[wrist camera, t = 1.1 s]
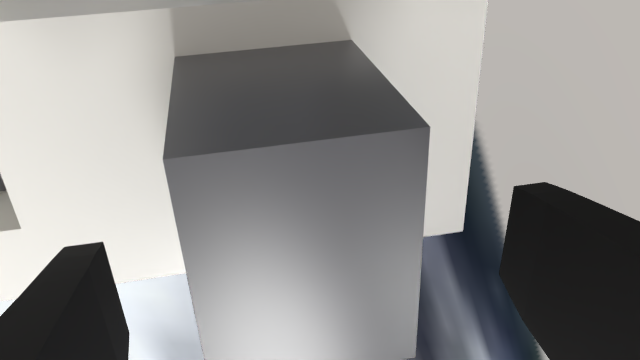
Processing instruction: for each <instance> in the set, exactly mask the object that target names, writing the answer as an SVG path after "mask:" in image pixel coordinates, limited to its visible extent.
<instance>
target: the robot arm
mask: <svg viewBox="0 0 640 360" xmlns="http://www.w3.org/2000/svg"><path fill="white" fill-rule="evenodd" d="M499 275H500V277H501V279H502V281H503V283H504V285H505V287H506V289H507V291H508V293H509V295H510V297H511V299H512V301H513V303H514V305H515V307H516V309H517V311H518V312H519V314H520V316H521V318H522V320H523V321H524V323H525V324H526V326H527V327H528V329H529V330H530V332H531V333H532V335H533V336H534V338H535V339H536V341H537V342H538V343H539V345H540V346H541V348H542V349H543V351H544V352H545V354H546V355H547V356H548V358H549V359H550V360H640V221H637V220H635V219H633V218H631V217H628V216H626V215H624V214H622V213H619V212H617V211H615V210H613V209H610V208H608V207H606V206H603V205H601V204H599V203H596V202H594V201H592V200H590V199H587V198H585V197H583V196H580V195H578V194H576V193H573V192H571V191H568V190H566V189H563V188H560V187H558V186H555V185H552V184H549V183H546V182H542V183H535V184H527V185H520V186H514V190H513V195H512V201H511V207H510V213H509V218H508V224H507V230H506V236H505V242H504V248H503V254H502V260H501V265H500V271H499ZM128 351H129V330H128V327H127V323H126V320H125V316H124V313H123V309H122V306H121V302H120V299H119V295H118V292H117V288H116V285H115V281H114V278H113V274H112V271H111V267H110V264H109V260H108V257H107V253H106V250H105V246H104V243H103V242H96V243H89V244H82V245H74V246H67V247H63V249H62V250H61V251H60V252H59V253H58V254H57V255H56V256H55V257H54V258H53V259H52V260H51V261H50V262H49V263H48V265H47V266H46V267H45V268H44V269H43V270H42V271H41V272H40V273H39V275H38V276H37V277H36V278H35V279H34V280H33V281H32V282H31V284H30V285H29V286H28V287H27V288H26V289H25V290H24V291H23V292H22V294H21V295H20V296H19V297H18V298H17V299H16V300H15V301H14V302H13V303H12V305H11V306H10V307H9V308H8V309H7V310H6V311H5V312H4V313H3V314H2V315H1V316H0V360H128Z"/></svg>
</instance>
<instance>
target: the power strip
mask: <svg viewBox="0 0 640 360" xmlns="http://www.w3.org/2000/svg"><path fill="white" fill-rule="evenodd" d="M487 8H488V0H0V301H7V300H13V299H17V298H18V297H19V296H20V295H21V294H22V292H23V291H24V290H25V289H26V288H27V287H28V286H29V285H30V284H31V282H32V281H33V280H34V279H35V278H36V277H37V276H38V275H39V273H40V272H41V271H42V270H43V269H44V268H45V267H46V266H47V265H48V263H49V262H50V261H51V260H52V259H53V258H54V257H55V256H56V255H57V254H58V253H59V252H60V251H61V250H62V249H63V247H67V246H74V245H82V244H89V243H96V242H103V243H104V246H105V250H106V253H107V257H108V260H109V264H110V267H111V271H112V274H113V278H114V281H115V284H119V283H125V282H132V281H138V280H145V279H152V278H158V277H165V276H171V275H178V274H185V273H186V270H185V265H184V260H183V255H182V251H181V246H180V241H179V236H178V231H177V226H176V222H175V217H174V212H173V207H172V202H171V198H170V193H169V188H168V183H167V178H166V174H165V169H164V164H163V152H164V143H165V135H166V126H167V118H168V109H169V101H170V92H171V84H172V75H173V67H174V58H175V57H177V56H187V55H198V54H208V53H219V52H229V51H240V50H250V49H260V48H271V47H281V46H292V45H302V44H313V43H323V42H333V41H344V40H352V41H353V42H354V43H355V44H356V45H357V46H358V47H359V48H360V50H361V51H362V52H363V53H364V54H365V55H366V56H367V57H368V58H369V59H370V61H371V62H372V63H373V64H374V65H375V66H376V67H377V68H378V69H379V71H380V72H381V73H382V74H383V75H384V76H385V77H386V78H387V79H388V80H389V82H390V83H391V84H392V85H393V86H394V87H395V88H396V89H397V90H398V92H399V93H400V94H401V95H402V96H403V97H404V98H405V99H406V100H407V101H408V103H409V104H410V105H411V106H412V107H413V108H414V109H415V110H416V111H417V113H418V114H419V115H420V116H421V117H422V118H423V119H424V120H425V121H426V122H427V124H428V125H429V126H430V140H429V156H428V171H427V187H426V202H425V217H424V233H423V237H428V236H435V235H441V234H448V233H454V232H461V231H463V225H464V216H465V207H466V198H467V189H468V180H469V171H470V162H471V153H472V144H473V135H474V126H475V117H476V108H477V98H478V89H479V79H480V71H481V62H482V53H483V44H484V34H485V26H486V16H487Z"/></svg>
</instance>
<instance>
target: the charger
mask: <svg viewBox="0 0 640 360" xmlns="http://www.w3.org/2000/svg"><path fill="white" fill-rule="evenodd" d="M429 140H430V126H429V125H428V124H427V122H426V121H425V120H424V119H423V118H422V117H421V116H420V115H419V114H418V113H417V111H416V110H415V109H414V108H413V107H412V106H411V105H410V104H409V103H408V101H407V100H406V99H405V98H404V97H403V96H402V95H401V94H400V93H399V92H398V90H397V89H396V88H395V87H394V86H393V85H392V84H391V83H390V82H389V80H388V79H387V78H386V77H385V76H384V75H383V74H382V73H381V72H380V71H379V69H378V68H377V67H376V66H375V65H374V64H373V63H372V62H371V61H370V59H369V58H368V57H367V56H366V55H365V54H364V53H363V52H362V51H361V50H360V48H359V47H358V46H357V45H356V44H355V43H354V42H353V41H352V40H344V41H333V42H323V43H313V44H302V45H292V46H281V47H271V48H260V49H250V50H240V51H229V52H219V53H208V54H198V55H187V56H177V57H175V58H174V67H173V75H172V84H171V92H170V101H169V109H168V118H167V126H166V135H165V143H164V152H163V164H164V169H165V174H166V178H167V183H168V188H169V193H170V198H171V202H172V207H173V212H174V217H175V222H176V226H177V231H178V236H179V241H180V246H181V251H182V255H183V260H184V265H185V270H186V275H187V279H188V284H189V289H190V294H191V299H192V303H193V308H194V313H195V318H196V323H197V328H198V332H199V337H200V342H201V347H202V352H203V356H204V360H404V359H409V358H415V356H416V340H417V325H418V309H419V294H420V279H421V263H422V248H423V233H424V217H425V202H426V187H427V171H428V156H429Z"/></svg>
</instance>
